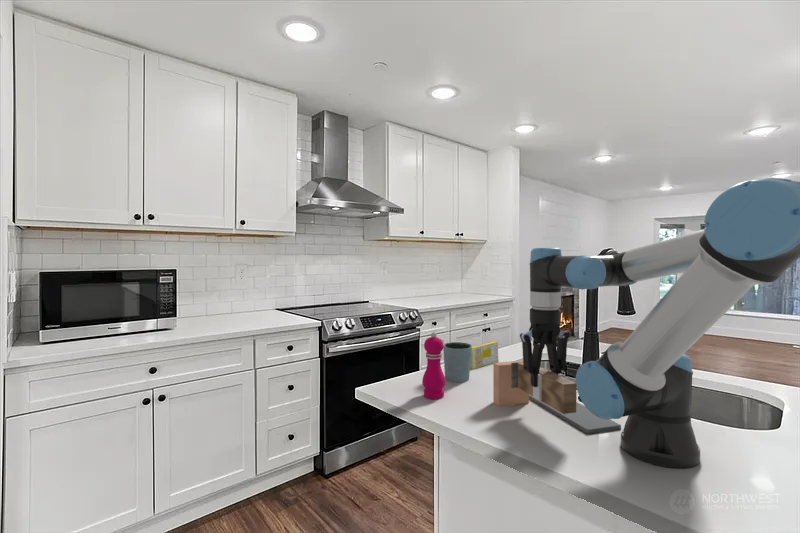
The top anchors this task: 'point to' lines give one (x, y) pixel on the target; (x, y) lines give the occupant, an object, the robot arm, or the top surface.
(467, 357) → the grey-blue cup
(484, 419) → the top surface
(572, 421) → the charcoal mat
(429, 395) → the pepper mill
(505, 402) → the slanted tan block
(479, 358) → the candy box
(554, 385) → the wooden block
